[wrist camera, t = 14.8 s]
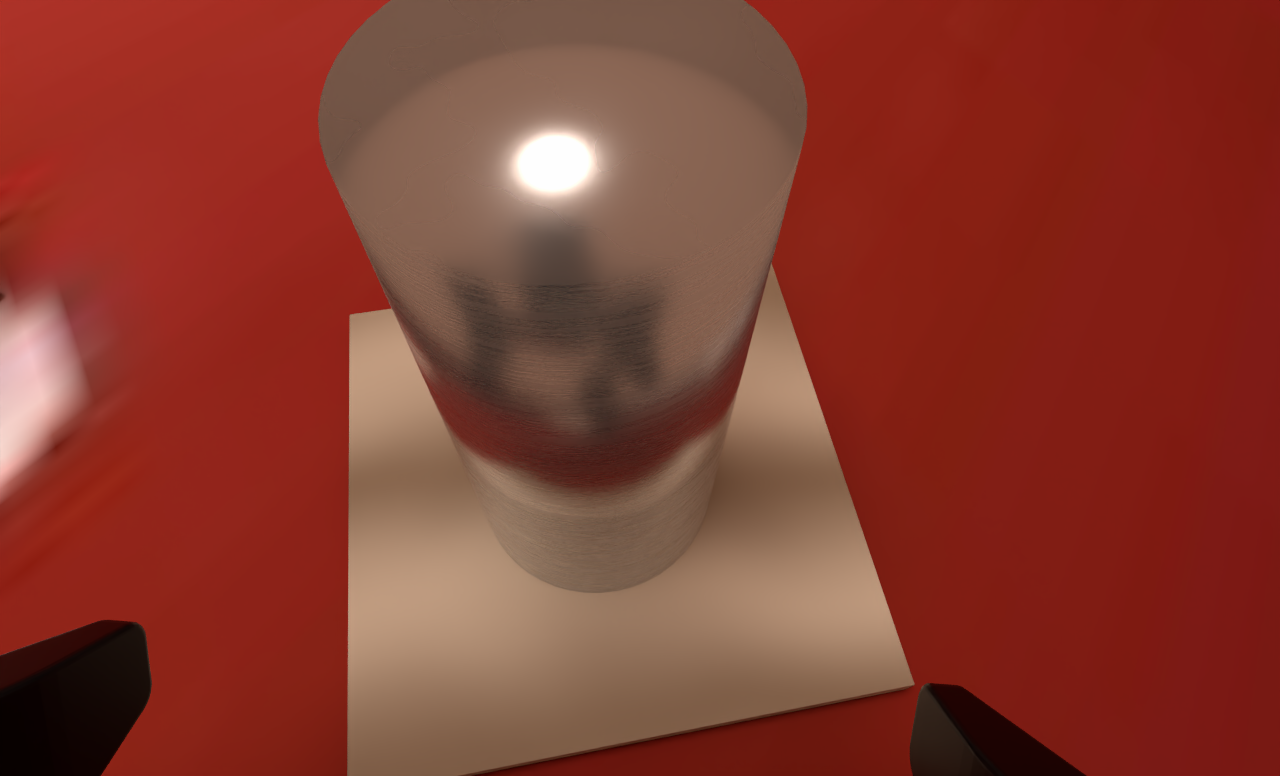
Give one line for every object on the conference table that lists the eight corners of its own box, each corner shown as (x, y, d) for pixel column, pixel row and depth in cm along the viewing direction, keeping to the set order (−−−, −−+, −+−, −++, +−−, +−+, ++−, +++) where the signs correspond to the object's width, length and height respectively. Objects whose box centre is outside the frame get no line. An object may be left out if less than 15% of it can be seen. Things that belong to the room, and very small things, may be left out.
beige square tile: (906, 688, 19) (914, 684, 18) (355, 798, 17) (346, 797, 17) (766, 268, 25) (769, 256, 24) (356, 326, 24) (349, 314, 23)
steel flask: (734, 569, 19) (874, 242, 8) (495, 613, 19) (314, 323, 8) (682, 367, 22) (738, -70, 11) (474, 400, 22) (320, -30, 11)
